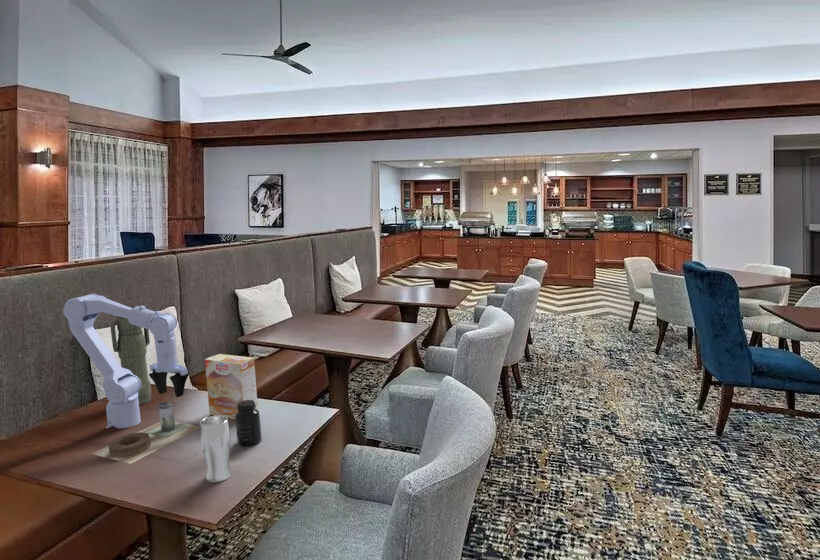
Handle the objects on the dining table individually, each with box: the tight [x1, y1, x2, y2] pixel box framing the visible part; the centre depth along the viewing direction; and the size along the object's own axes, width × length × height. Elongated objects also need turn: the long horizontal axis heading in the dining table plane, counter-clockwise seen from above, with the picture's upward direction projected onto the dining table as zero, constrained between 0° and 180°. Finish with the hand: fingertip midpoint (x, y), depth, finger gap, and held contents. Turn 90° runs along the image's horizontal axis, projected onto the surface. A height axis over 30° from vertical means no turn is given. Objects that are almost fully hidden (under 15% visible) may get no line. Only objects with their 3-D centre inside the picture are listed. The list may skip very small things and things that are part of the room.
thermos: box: [110, 305, 152, 406], centre depth 177 cm, size 9×12×35 cm
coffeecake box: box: [204, 353, 259, 420], centre depth 164 cm, size 15×7×20 cm, turn 67°
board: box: [91, 421, 200, 465], centre depth 146 cm, size 16×24×4 cm, turn 156°
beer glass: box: [199, 415, 233, 483], centre depth 125 cm, size 7×7×15 cm
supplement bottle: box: [234, 400, 263, 448], centre depth 144 cm, size 7×7×12 cm
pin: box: [158, 401, 176, 432], centre depth 152 cm, size 4×4×8 cm
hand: (171, 394), depth 156 cm, fingers open, 7 cm apart
